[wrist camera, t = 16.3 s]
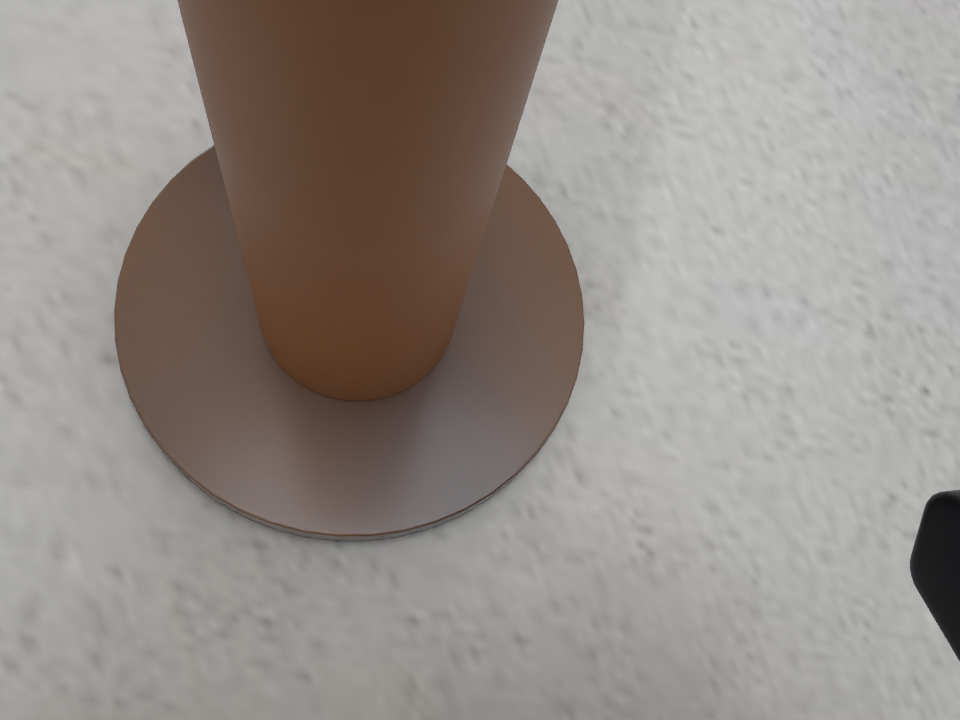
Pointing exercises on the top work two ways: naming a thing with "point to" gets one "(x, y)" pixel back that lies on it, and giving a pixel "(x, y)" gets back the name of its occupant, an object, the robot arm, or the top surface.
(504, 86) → the orange cylinder
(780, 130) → the top surface
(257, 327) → the round brown plate
